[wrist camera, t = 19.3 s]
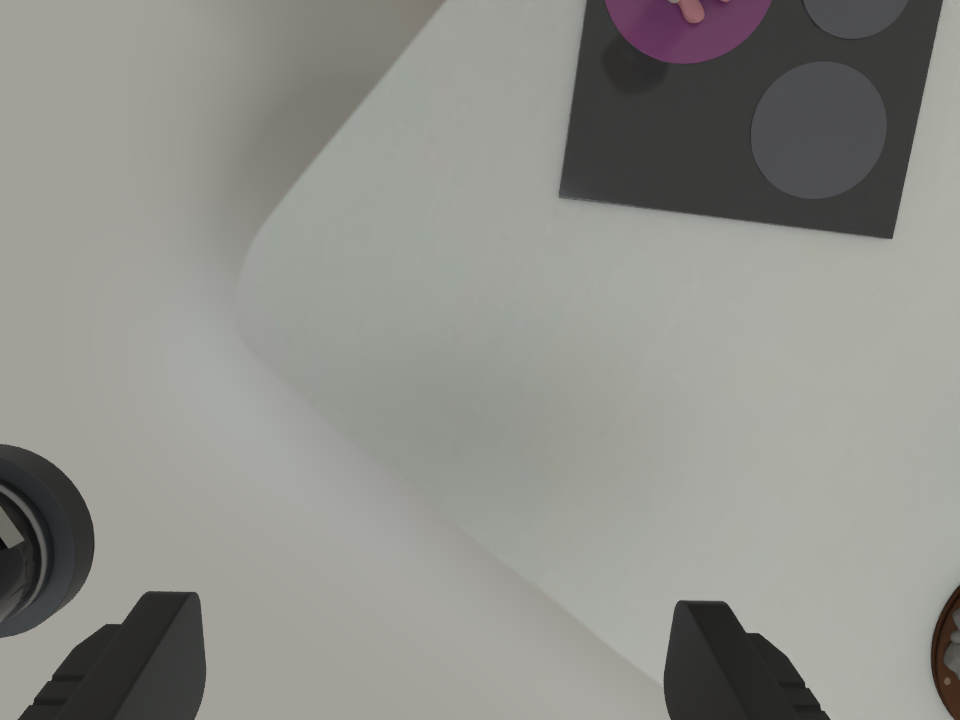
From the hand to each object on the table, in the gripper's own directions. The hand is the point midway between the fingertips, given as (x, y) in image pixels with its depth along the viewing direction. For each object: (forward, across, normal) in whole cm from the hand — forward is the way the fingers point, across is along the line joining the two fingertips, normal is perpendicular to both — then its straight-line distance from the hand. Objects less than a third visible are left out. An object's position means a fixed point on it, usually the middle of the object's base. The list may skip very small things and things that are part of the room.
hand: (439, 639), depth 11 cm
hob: (+27, -16, -14) cm, 34 cm away
